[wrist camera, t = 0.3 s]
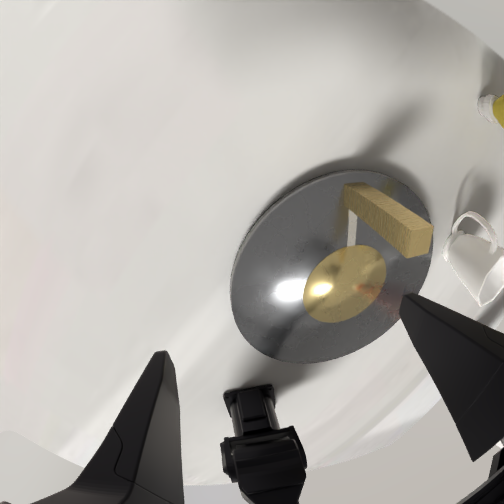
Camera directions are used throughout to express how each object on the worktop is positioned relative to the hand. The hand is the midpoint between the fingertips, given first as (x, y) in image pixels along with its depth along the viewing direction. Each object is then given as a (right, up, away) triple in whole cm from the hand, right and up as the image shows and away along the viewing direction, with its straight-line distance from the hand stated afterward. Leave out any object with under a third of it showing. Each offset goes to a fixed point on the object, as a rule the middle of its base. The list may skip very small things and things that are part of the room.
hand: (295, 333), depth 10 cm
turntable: (+7, 0, +18) cm, 20 cm away
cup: (+23, +5, +19) cm, 30 cm away
